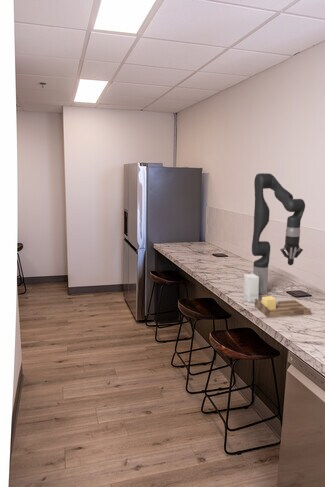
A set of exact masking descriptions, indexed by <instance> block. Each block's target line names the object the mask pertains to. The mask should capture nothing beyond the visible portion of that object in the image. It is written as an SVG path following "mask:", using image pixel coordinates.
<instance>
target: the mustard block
mask: <svg viewBox="0 0 325 487" xmlns="http://www.w3.org/2000/svg"><path fill="white" fill-rule="evenodd" d="M276 301H277V299H276V298H275V297H274V296H272V295H269V296H261V302H262V304H263V305H265V306H266V307H267V308H268V309H276Z"/></svg>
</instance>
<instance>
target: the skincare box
mask: <svg viewBox="0 0 325 487" xmlns="http://www.w3.org/2000/svg"><path fill="white" fill-rule="evenodd" d="M259 295H260V294H259V277H258V276H256V275H255V274H253V273H245V274H243V299H244V300H245V301H247V303H250V304H251V303H255V299H257V300H258V301H259Z"/></svg>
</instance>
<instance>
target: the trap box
mask: <svg viewBox="0 0 325 487" xmlns="http://www.w3.org/2000/svg"><path fill="white" fill-rule="evenodd" d="M277 301H278V304H276V309H268V308H267V307H266V306H265V305H263V304H262V301H260V300H259V299H258V300H257V299H255V302H254V307H255V308H256V310H258V311H259V312H261V313H262V314H263V315H264V316H265V317H266V318H279V317H280V318H281V317H295V316H309V315H310V316H311V314H312V313H311V312H312V311H311V309H309V308H308V307H307V306H305V305H303V304H302V303H300V302H299V301H297V300H296V299H290V300H289V299H288V300H277Z"/></svg>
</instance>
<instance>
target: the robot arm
mask: <svg viewBox="0 0 325 487" xmlns="http://www.w3.org/2000/svg"><path fill="white" fill-rule="evenodd" d="M253 185H254V213H253V231H252V232H253V234H252V242H251V253H252V256H254V257H260V258H258V259H256V260H254V261H253V269H252V274H255V275H256V276H258V277H259V294H258V295H265V294H267V293H268V284H269V283H268V281H269V264H270V258H271V257H270V255H271V244H270V242H269V241H265V240H261V241H260V237H261V234H262V233H263V231H264V230H265V229H266V227H267V225H269V222H270V207H269V205H268V203H267V201H266V200H265V197H264V190H265V189H268V190H269V189H270V190H272V191H273V193H274V197H275V198H276V200H278V201H279V202H280V203H281V204H282V205H283V206H282V207H283V208H284V210H285V211H287V212H289V213H293V214H292V215H290V216H288V217H287V221H286V229H285V241H284V246H283V248H280V252H281V254H282V255H283V257H284V258H286V259H287V264H288V266H293V265H294V264H295V262H294V261H295V259H297V258H298V257H299V256H300V255H301V253H302V252H303V248H302V247H300V238H301V221H302V217H303V215H304V213H305V209H306V203H305V200H304V199H303V198H294V196H293V194H292V193H291V192H290V191H288V190H287V189H286V188H285V187H284V186H282V184H281V183H280V182H279V181H278V180H277V178H276V177H275V176H274V175H273V174H272V173H266V172H265V173H262V172H261V173H257V174H256V175H255V177H254V184H253Z"/></svg>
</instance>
